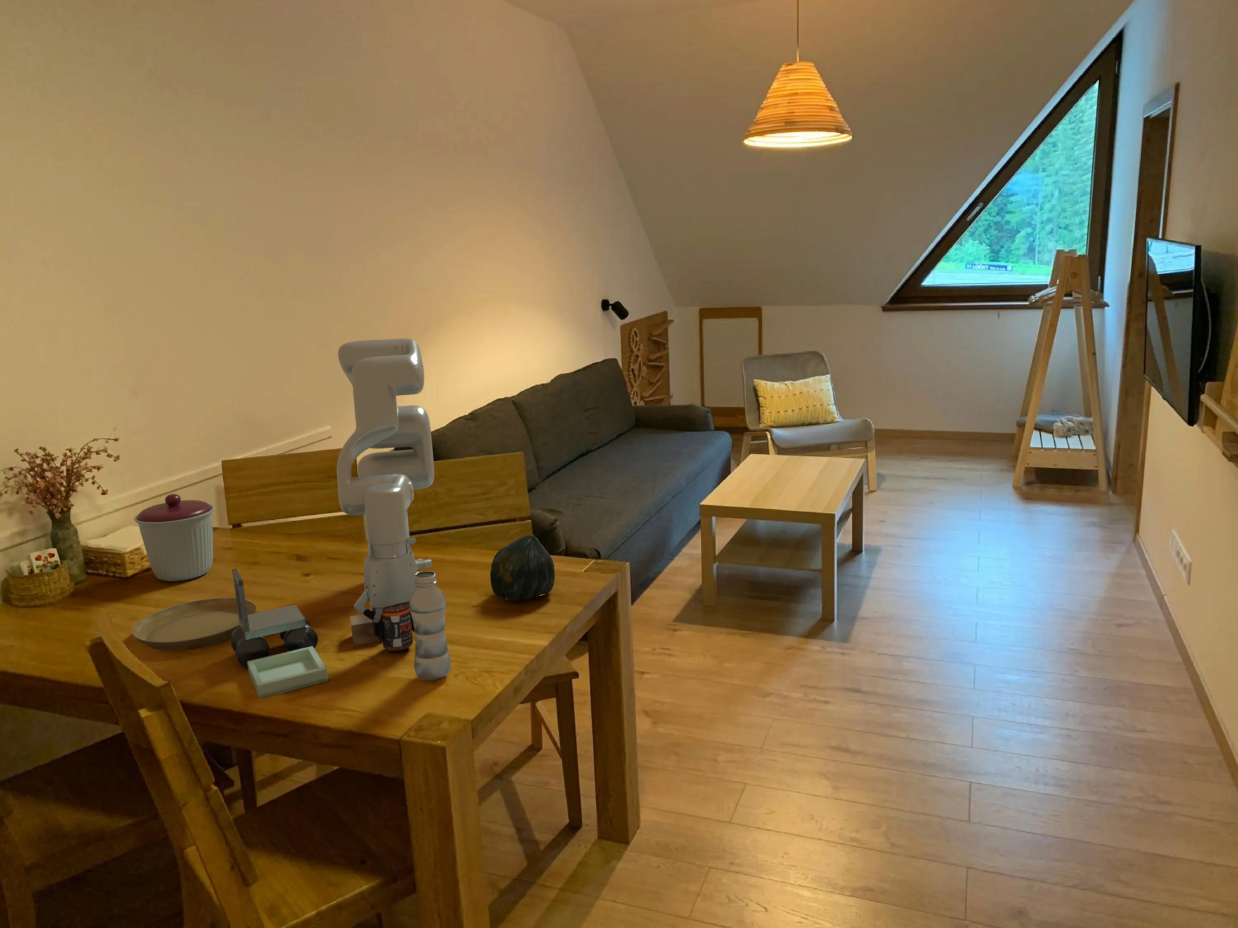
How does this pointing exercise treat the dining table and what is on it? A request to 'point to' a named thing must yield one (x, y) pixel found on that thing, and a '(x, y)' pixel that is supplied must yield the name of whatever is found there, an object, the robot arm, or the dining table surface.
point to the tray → (287, 672)
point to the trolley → (267, 628)
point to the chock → (362, 630)
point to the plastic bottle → (429, 628)
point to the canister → (178, 538)
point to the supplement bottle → (397, 627)
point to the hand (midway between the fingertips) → (397, 633)
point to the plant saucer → (191, 624)
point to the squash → (522, 570)
